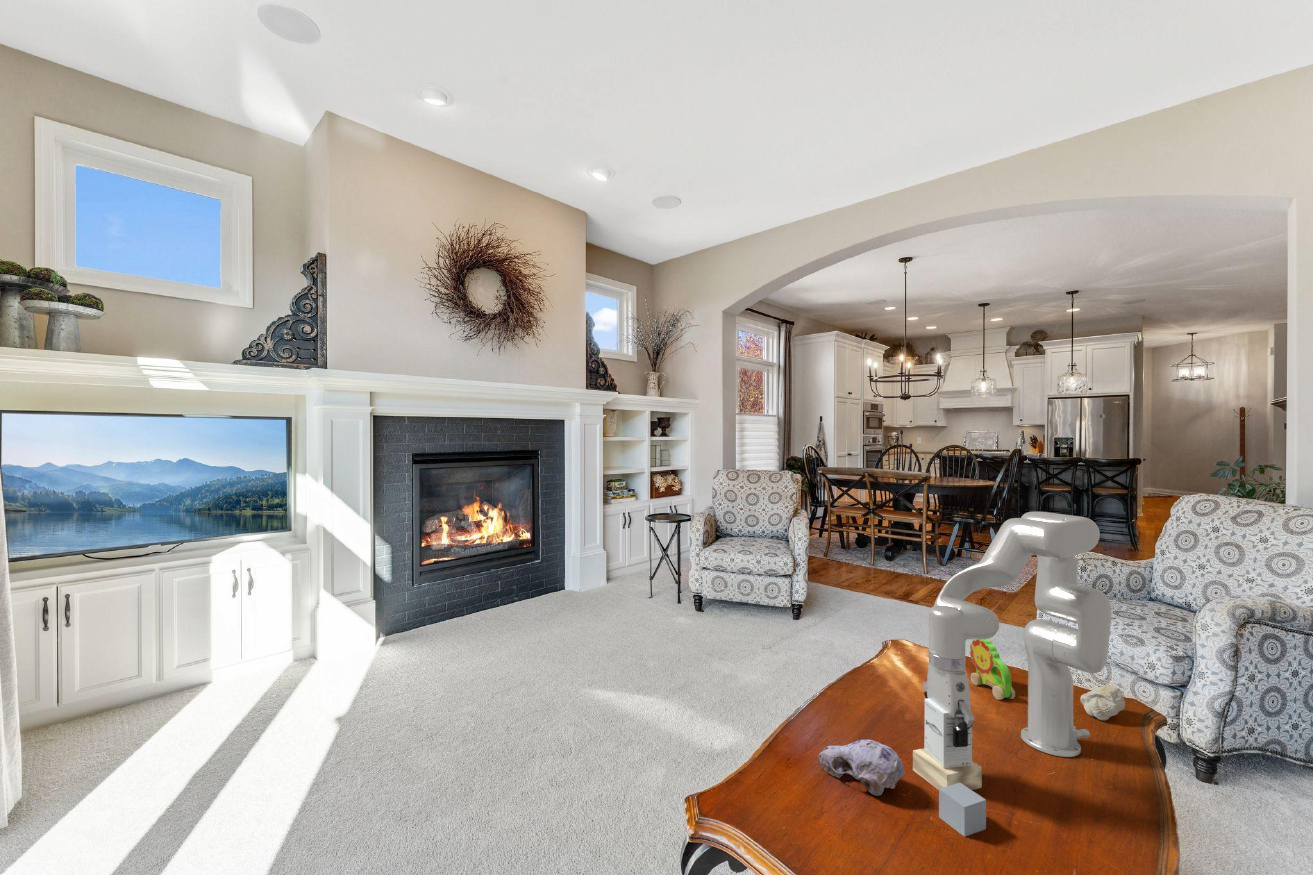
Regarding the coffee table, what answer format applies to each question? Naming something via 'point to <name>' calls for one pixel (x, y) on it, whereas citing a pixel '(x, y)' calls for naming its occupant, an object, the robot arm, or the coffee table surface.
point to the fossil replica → (1103, 702)
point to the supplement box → (944, 738)
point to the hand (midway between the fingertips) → (946, 734)
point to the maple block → (945, 772)
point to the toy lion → (990, 669)
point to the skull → (864, 764)
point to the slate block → (962, 809)
